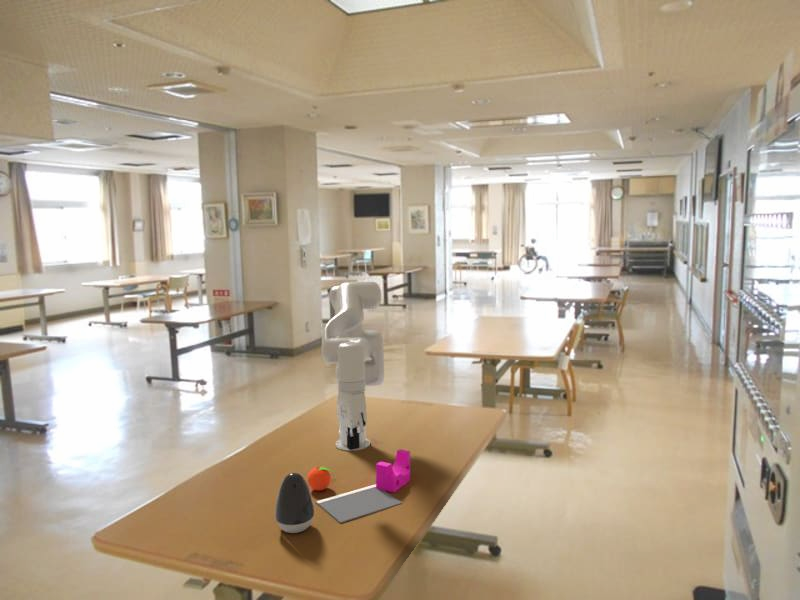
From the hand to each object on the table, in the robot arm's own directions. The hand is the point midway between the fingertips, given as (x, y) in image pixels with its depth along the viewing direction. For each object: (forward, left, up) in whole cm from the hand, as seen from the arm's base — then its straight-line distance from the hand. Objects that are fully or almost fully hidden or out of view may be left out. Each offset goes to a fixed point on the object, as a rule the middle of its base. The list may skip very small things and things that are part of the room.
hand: (353, 448), depth 172 cm
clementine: (-12, -5, -16) cm, 21 cm away
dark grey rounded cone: (+5, -21, -16) cm, 27 cm away
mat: (+2, 0, -16) cm, 16 cm away
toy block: (-4, +17, -16) cm, 24 cm away
